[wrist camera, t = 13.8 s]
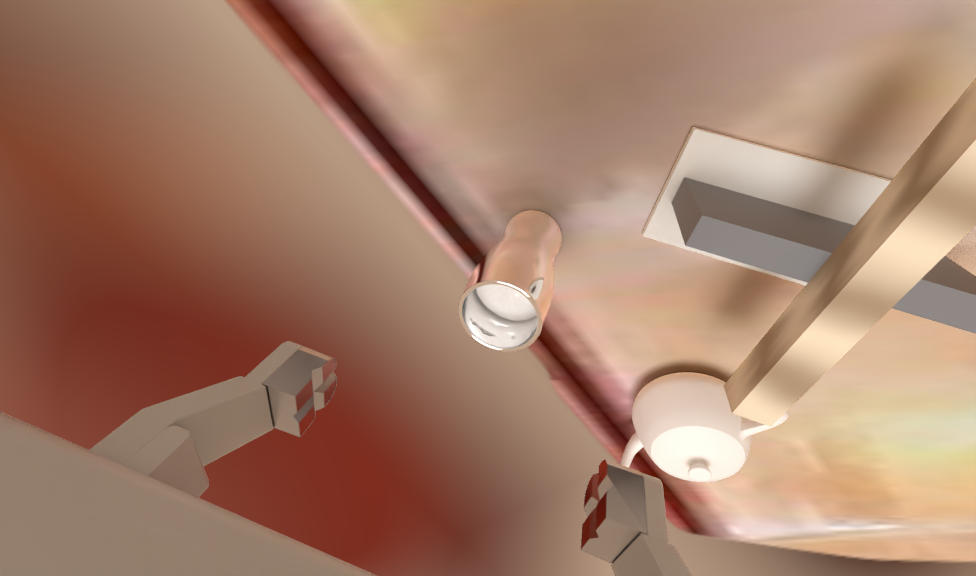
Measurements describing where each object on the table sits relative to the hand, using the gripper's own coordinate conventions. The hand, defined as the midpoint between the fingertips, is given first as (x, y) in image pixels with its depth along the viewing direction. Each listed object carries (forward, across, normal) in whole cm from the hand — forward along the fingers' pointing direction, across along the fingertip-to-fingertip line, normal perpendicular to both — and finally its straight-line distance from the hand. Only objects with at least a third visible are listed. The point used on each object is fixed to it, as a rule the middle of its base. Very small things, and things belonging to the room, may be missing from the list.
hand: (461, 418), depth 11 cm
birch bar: (+21, -20, 0) cm, 29 cm away
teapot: (+31, -22, +24) cm, 45 cm away
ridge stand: (+31, -20, 0) cm, 37 cm away
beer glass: (+31, +1, +9) cm, 33 cm away
